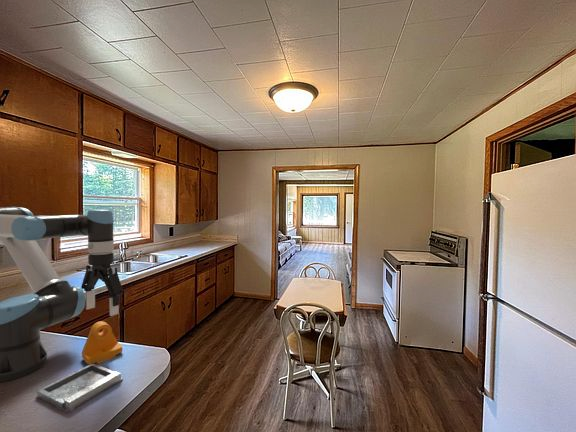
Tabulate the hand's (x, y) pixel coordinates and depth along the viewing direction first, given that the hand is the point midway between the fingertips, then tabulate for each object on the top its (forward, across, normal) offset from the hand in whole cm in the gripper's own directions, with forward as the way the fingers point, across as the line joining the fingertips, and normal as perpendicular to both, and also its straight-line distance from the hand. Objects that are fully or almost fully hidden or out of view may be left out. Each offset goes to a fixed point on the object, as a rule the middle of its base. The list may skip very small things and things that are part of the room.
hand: (102, 311), depth 98 cm
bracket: (+17, 0, 0) cm, 17 cm away
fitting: (+16, +12, -13) cm, 24 cm away
